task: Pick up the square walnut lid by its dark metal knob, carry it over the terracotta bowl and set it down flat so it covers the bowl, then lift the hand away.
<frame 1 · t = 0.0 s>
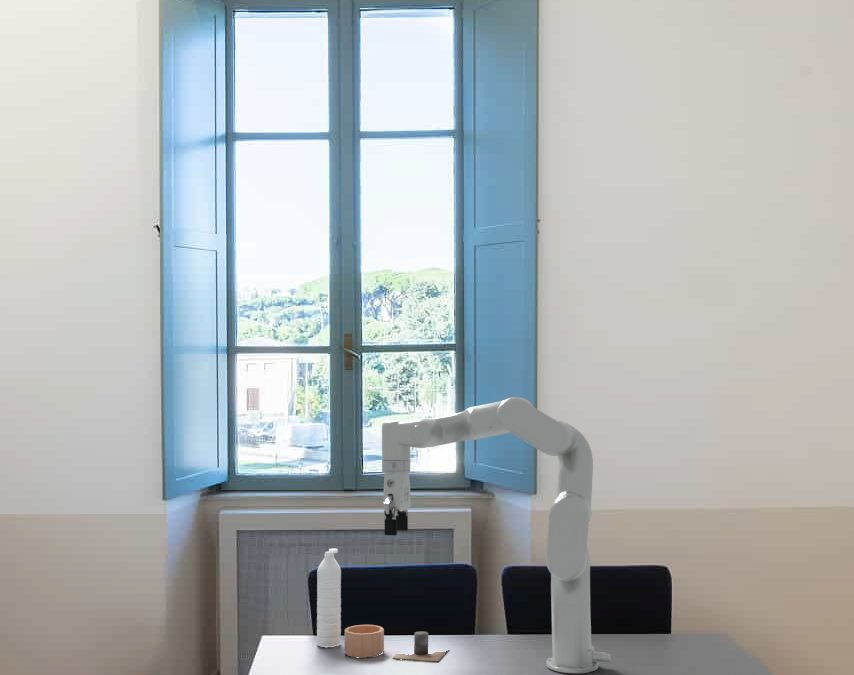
hand: (396, 532, 221), 31 cm above the table, tool pointing down, fingers open, 9 cm apart
lid: (421, 656, 218), on the table
water bottle: (330, 645, 229), on the table
bowl: (364, 653, 220), on the table
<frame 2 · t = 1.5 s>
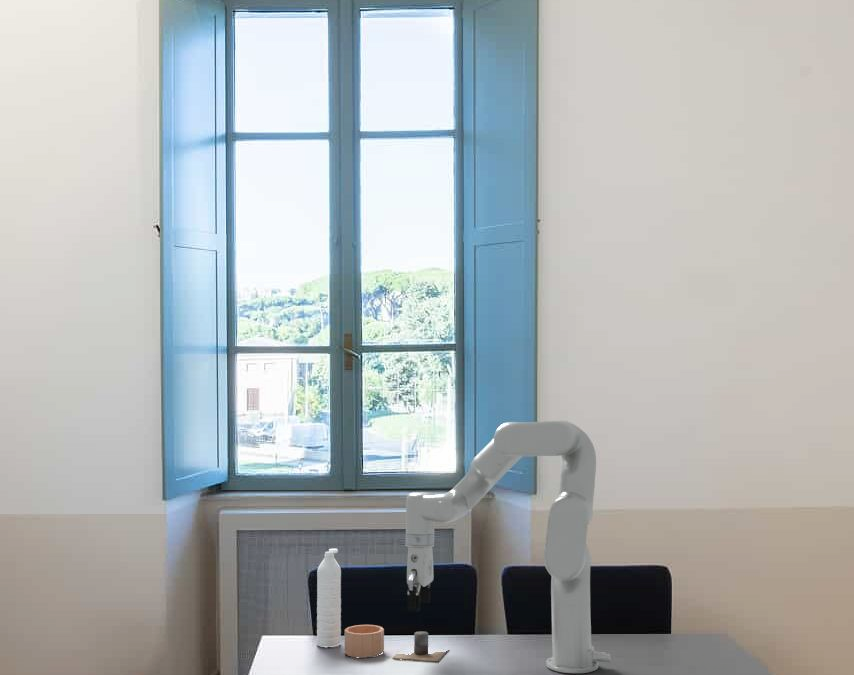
hand: (418, 606, 219), 12 cm above the table, tool pointing down, fingers open, 9 cm apart
nothing on the table moved.
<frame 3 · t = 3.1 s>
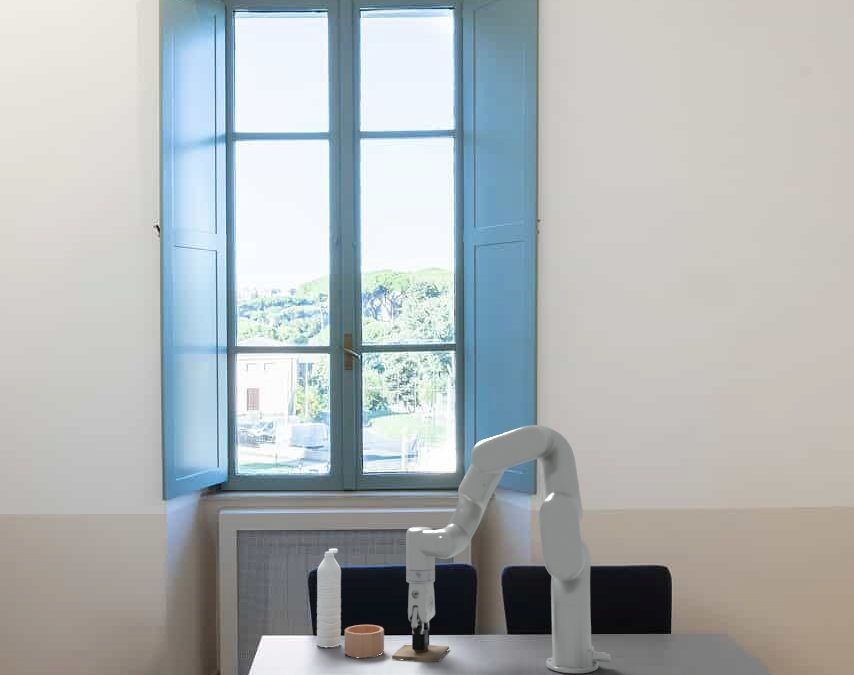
hand: (420, 646, 218), 2 cm above the table, tool pointing down, fingers closed on lid, 3 cm apart
lid: (421, 654, 218), on the table, touching gripper
everything else where it was.
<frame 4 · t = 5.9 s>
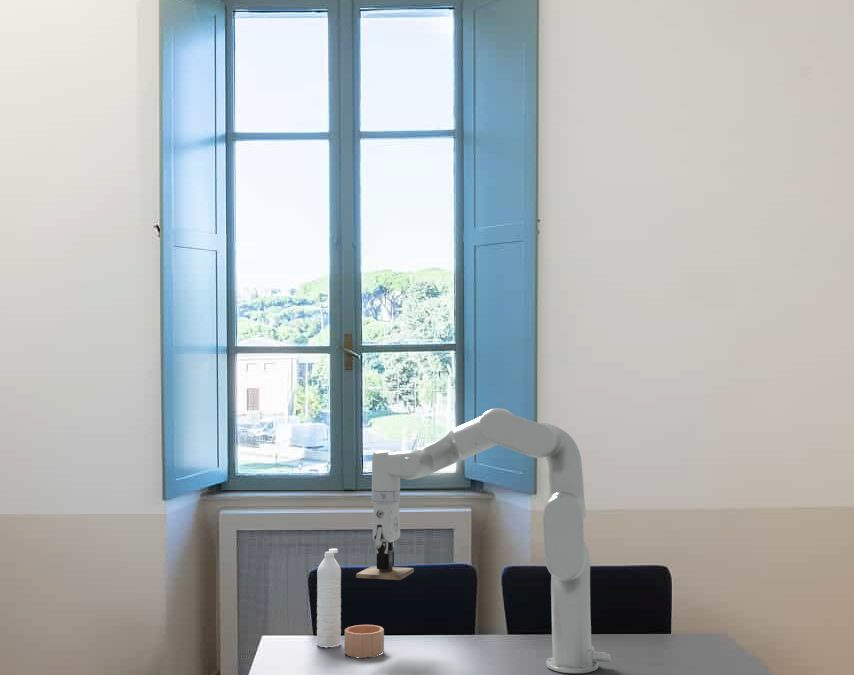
hand: (385, 567, 221), 22 cm above the table, tool pointing down, fingers closed on lid, 3 cm apart
lid: (385, 574, 221), point 20 cm above the table, touching gripper
everything else where it was.
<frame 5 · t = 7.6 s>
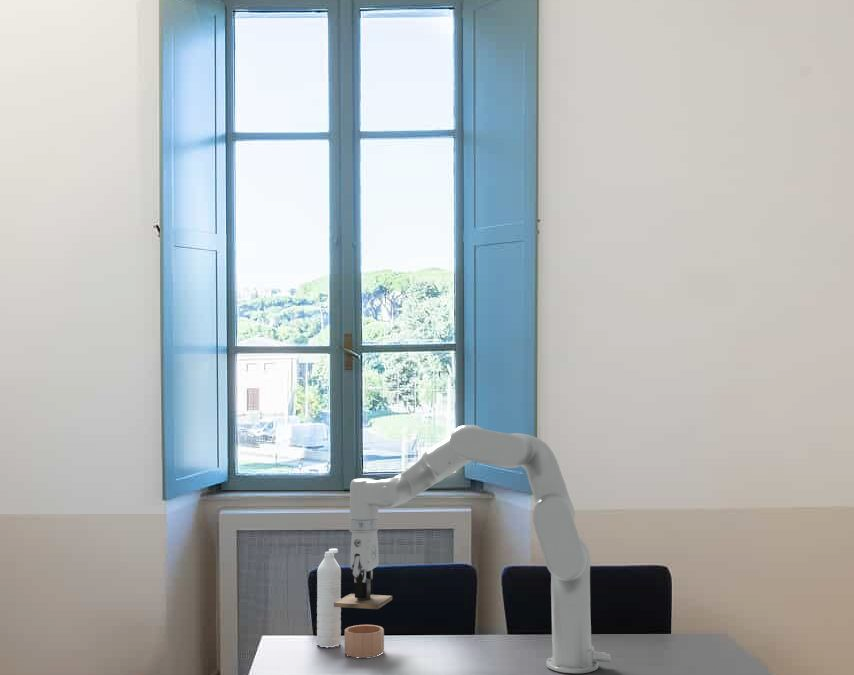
hand: (363, 595, 221), 15 cm above the table, tool pointing down, fingers closed on lid, 3 cm apart
lid: (363, 603, 221), point 13 cm above the table, touching gripper
everything else where it was.
when the fingers open (9 cm above the table, at t = 8.9 s): lid drops 1 cm, resting on bowl.
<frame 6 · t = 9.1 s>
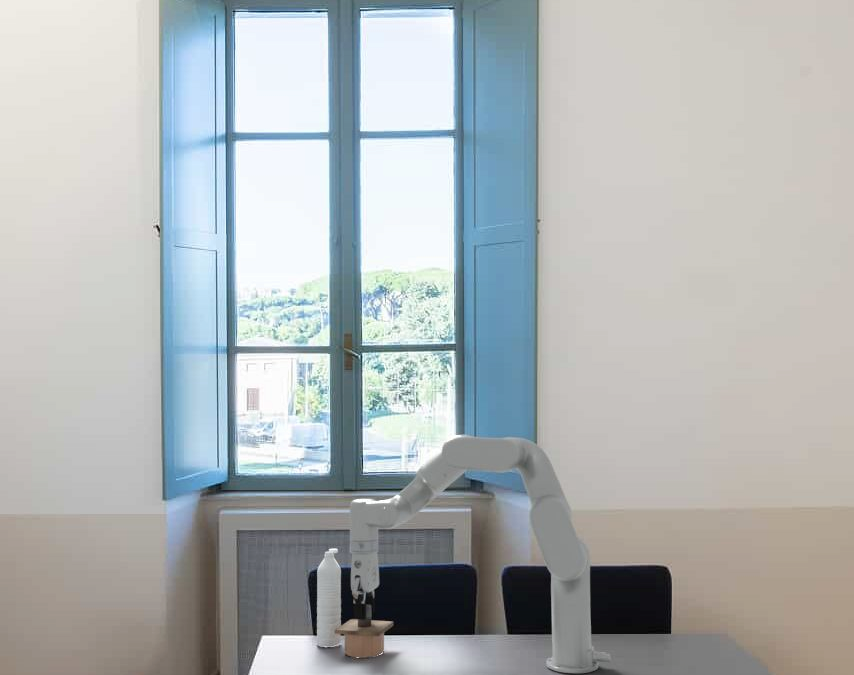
hand: (364, 615, 221), 10 cm above the table, tool pointing down, fingers open, 5 cm apart
lid: (364, 629, 220), point 6 cm above the table, touching bowl
everything else where it was.
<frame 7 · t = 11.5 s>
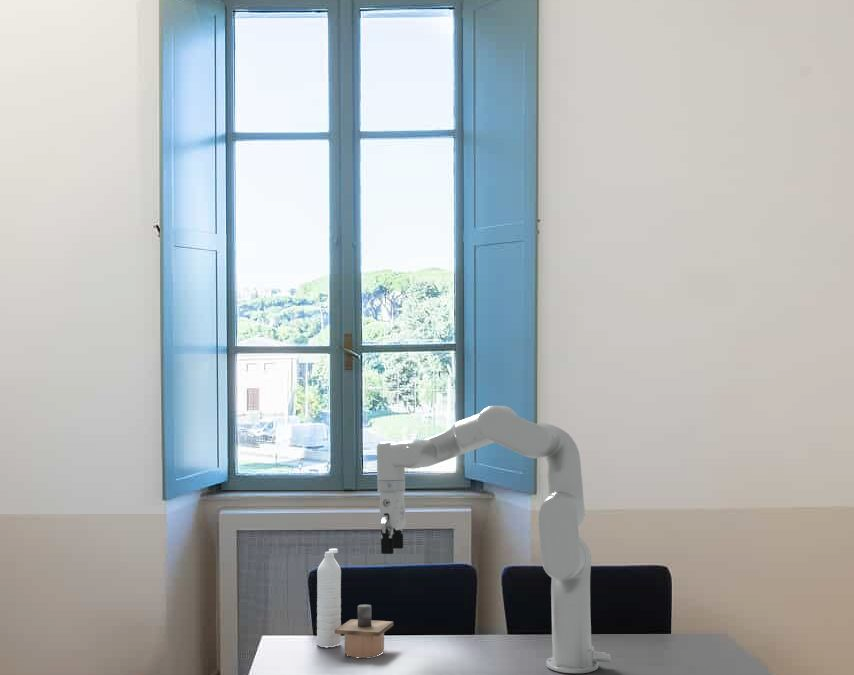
hand: (392, 550, 227), 26 cm above the table, tool pointing down, fingers open, 9 cm apart
nothing on the table moved.
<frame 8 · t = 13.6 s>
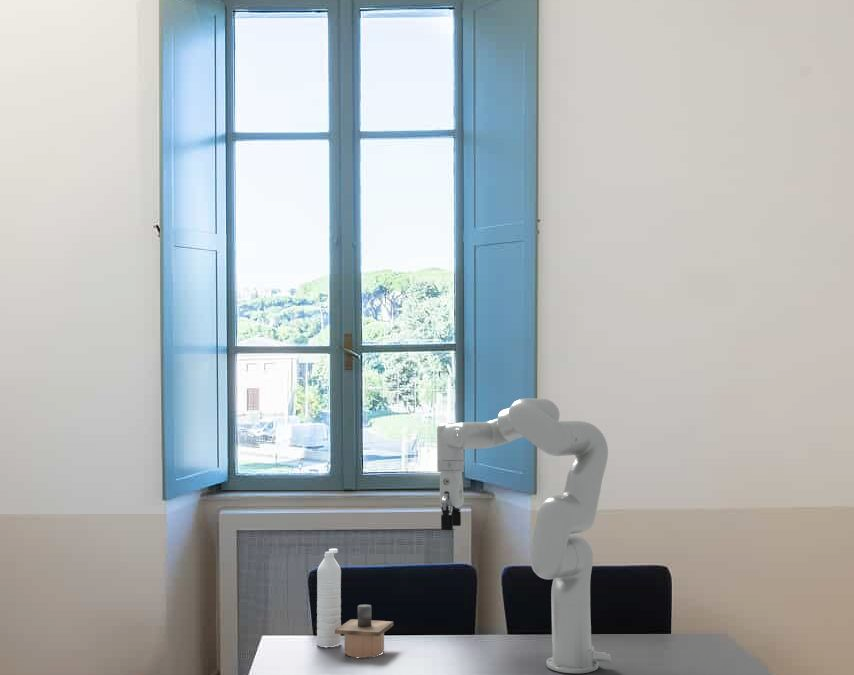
hand: (451, 527, 237), 30 cm above the table, tool pointing down, fingers open, 9 cm apart
nothing on the table moved.
at the end: lid 0.1 cm off-centre on the bowl, point 6.0 cm above the bowl's base; lid tilted 0°; the gripper is holding nothing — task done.
